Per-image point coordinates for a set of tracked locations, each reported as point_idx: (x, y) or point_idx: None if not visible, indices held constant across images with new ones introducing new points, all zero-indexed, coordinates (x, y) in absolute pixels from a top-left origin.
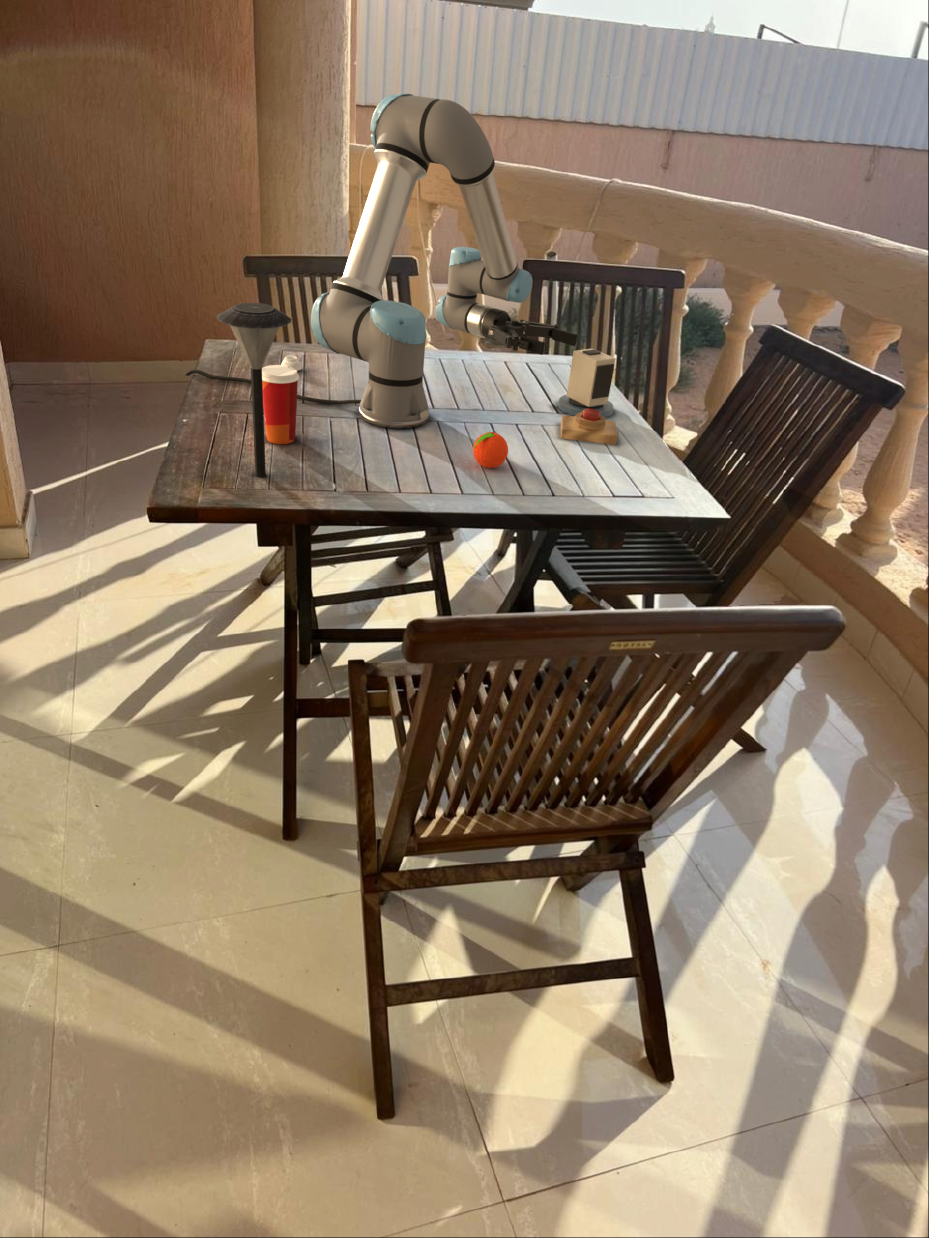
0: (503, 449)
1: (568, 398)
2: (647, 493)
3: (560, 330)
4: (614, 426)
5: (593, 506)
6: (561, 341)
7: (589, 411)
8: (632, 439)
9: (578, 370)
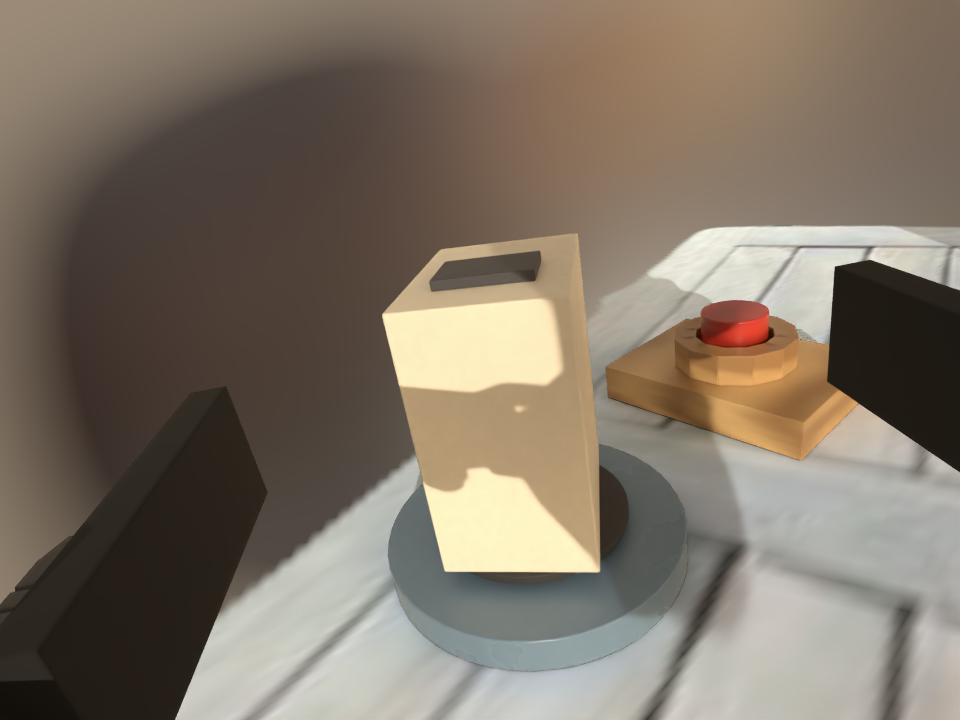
0: None
1: (577, 588)
2: (781, 251)
3: (127, 524)
4: (644, 347)
5: (944, 234)
6: (205, 615)
7: (746, 309)
8: (601, 360)
9: (584, 369)
